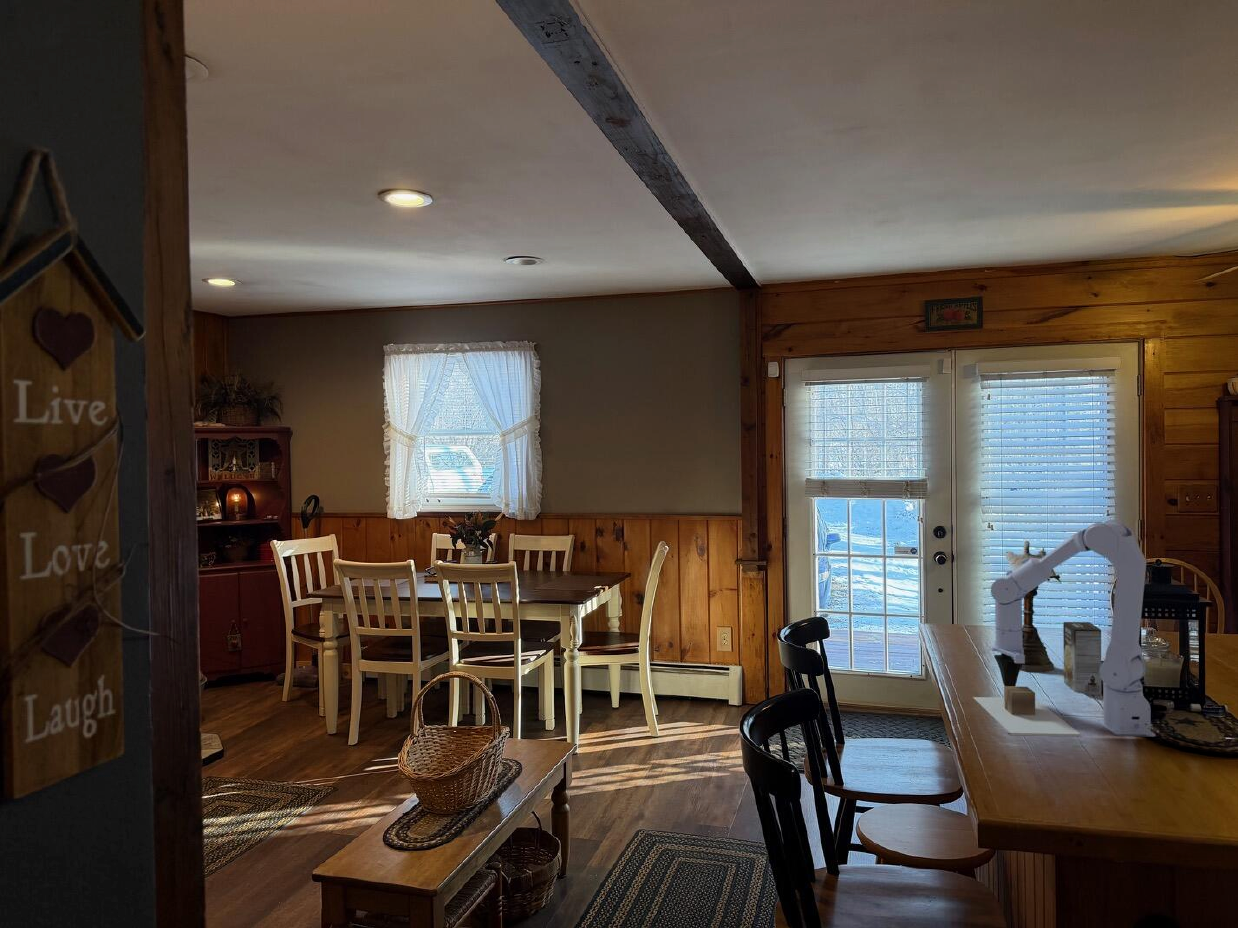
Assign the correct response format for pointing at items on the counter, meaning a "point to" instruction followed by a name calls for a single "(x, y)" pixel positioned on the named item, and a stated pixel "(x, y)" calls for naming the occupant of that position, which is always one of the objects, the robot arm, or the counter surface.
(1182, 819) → the counter surface
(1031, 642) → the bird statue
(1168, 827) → the counter surface
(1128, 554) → the robot arm
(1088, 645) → the coffee box
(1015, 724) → the mat
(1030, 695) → the flip block
